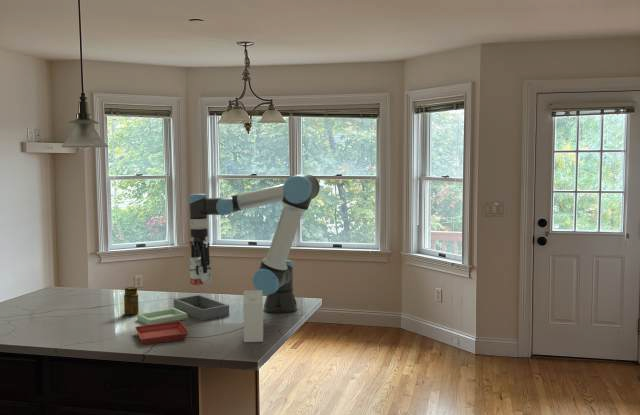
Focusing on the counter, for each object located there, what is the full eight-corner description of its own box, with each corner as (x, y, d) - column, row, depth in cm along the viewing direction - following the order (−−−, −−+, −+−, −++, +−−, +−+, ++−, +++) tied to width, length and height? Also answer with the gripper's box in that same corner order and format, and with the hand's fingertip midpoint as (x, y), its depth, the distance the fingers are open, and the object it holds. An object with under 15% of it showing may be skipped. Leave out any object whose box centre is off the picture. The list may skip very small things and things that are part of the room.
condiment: (139, 311, 270) (138, 285, 269) (140, 316, 262) (139, 289, 261) (122, 313, 267) (121, 287, 266) (123, 318, 259) (122, 291, 259)
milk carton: (244, 337, 230) (244, 288, 228) (263, 336, 230) (262, 288, 229) (244, 342, 223) (243, 292, 221) (263, 342, 223) (262, 292, 222)
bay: (229, 315, 263) (229, 305, 263) (202, 320, 254) (201, 310, 254) (199, 304, 284) (199, 294, 283) (173, 308, 275) (173, 299, 275)
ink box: (194, 285, 263) (193, 259, 263) (190, 283, 267) (189, 257, 267) (212, 282, 268) (211, 256, 267) (207, 281, 272) (206, 255, 271)
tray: (187, 319, 257) (187, 313, 256) (150, 326, 246) (150, 320, 246) (174, 313, 266) (173, 307, 266) (137, 320, 256) (137, 314, 255)
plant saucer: (140, 347, 220) (140, 338, 219) (134, 334, 236) (134, 326, 236) (189, 340, 227) (189, 332, 227) (180, 328, 243) (180, 320, 243)
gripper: (181, 227, 271) (184, 277, 272) (201, 230, 257) (203, 283, 258) (196, 226, 275) (198, 275, 277) (216, 228, 261) (218, 280, 263)
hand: (201, 279), depth 268 cm, fingers closed on ink box, 5 cm apart
